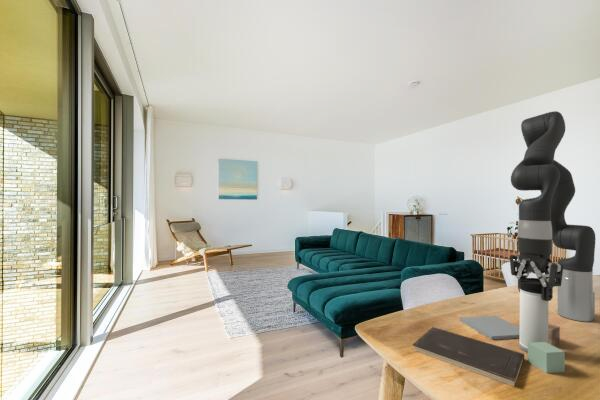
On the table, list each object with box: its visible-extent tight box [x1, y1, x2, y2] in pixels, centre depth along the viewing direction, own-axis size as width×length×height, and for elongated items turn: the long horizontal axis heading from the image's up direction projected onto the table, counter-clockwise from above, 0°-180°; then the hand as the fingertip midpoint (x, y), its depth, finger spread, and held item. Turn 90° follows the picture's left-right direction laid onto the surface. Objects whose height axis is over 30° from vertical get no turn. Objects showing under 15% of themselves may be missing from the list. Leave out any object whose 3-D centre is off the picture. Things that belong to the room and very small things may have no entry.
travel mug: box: [518, 277, 550, 353], centre depth 80 cm, size 6×7×20 cm
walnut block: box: [548, 322, 561, 347], centre depth 86 cm, size 5×5×5 cm
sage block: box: [527, 342, 566, 374], centre depth 73 cm, size 5×5×5 cm
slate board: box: [459, 315, 520, 340], centre depth 94 cm, size 14×14×1 cm
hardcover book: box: [412, 326, 525, 387], centre depth 78 cm, size 16×23×2 cm
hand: (534, 296), depth 81 cm, fingers closed on travel mug, 6 cm apart
